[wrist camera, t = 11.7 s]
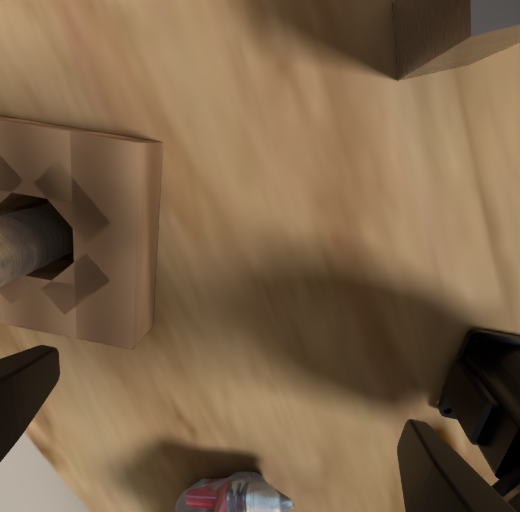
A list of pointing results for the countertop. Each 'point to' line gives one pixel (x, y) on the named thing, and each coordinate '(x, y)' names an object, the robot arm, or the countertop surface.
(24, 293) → the bore block
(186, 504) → the brake caliper
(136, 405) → the countertop surface
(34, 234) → the round bit
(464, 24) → the square bit
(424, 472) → the robot arm
